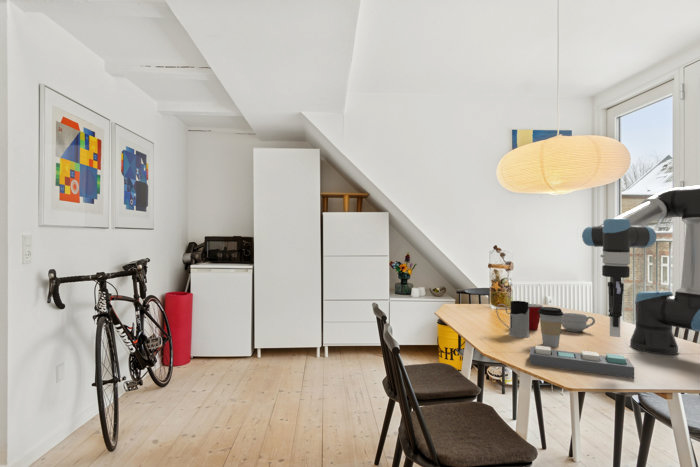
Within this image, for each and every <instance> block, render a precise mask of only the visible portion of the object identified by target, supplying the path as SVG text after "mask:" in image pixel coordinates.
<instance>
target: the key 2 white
mask: <svg viewBox="0 0 700 467" xmlns="http://www.w3.org/2000/svg"><path fill="white" fill-rule="evenodd" d="M581 353H582V359H586V360H594V361H600V356H599V355H600V354H599V352H597V351H589V350H587V351H586V350H581Z"/></svg>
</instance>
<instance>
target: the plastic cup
mask: <svg viewBox="0 0 700 467" xmlns="http://www.w3.org/2000/svg"><path fill="white" fill-rule="evenodd" d="M541 307H544V304H537V303H529V331H538V329H539V326H540V325H539V324H540V314H539V313H538V310H540V308H541Z"/></svg>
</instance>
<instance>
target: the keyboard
mask: <svg viewBox="0 0 700 467" xmlns="http://www.w3.org/2000/svg"><path fill="white" fill-rule="evenodd" d="M558 352H562V353H571V354H574V357H575V358H570V357H562V356H558ZM599 356H600V361H594V360H586V359H582V352H575V351H566V350H557V349H551V355H546V354H537V353H536V347H534V346H533V347H532V346H531V347H530V350H529V365H533V366H538V367H539V366H540V367H547V368H555V369H561V370H569V371H576V372H577V371H578V372H584V373H585V372H586V373H591V374H598V375H606V376H613V377H619V378H620V377H622V378H627V379H628V378H629V379H635V366H634V365H633V364H632V362H631V360H630V359H629V358H627V357H626V358H625V357H624V358H625V359H626V364H618V363H610V362H607V361H606V355H603V354H602V355H600V354H599Z"/></svg>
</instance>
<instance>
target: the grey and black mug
mask: <svg viewBox="0 0 700 467" xmlns="http://www.w3.org/2000/svg"><path fill="white" fill-rule="evenodd" d="M529 304H530V303H529V302H528V301H522V300H510V313H509V312H508V309H507V306H506V305H505V304H503V303H499V304H498V305H497V306H496V307H495V308H496V309H495V310H496V311H495V312H496V315H497V318H498V319H499V321H500V322H501V323H502V324H503V325H504V326H506V328H508V330H509V333H508V335H509V336H510V337H512V338H518V337H519V339H527V338H530V337H531V336H530V330H529ZM499 306H503V307H504V308H505V313H506V314H507V315H509V326H508V325H507V324H506V323H505V322H504V321H502V320H501V318H500V316H499V313H498V307H499Z"/></svg>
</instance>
